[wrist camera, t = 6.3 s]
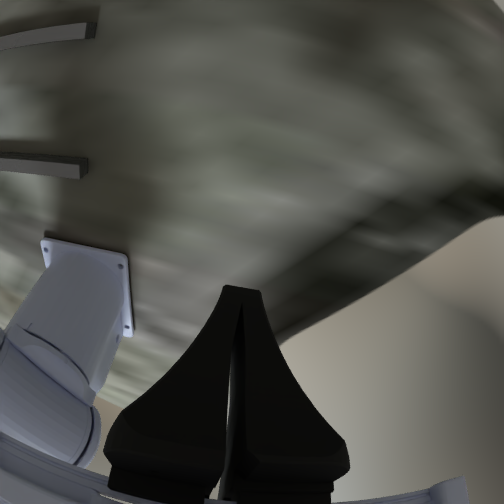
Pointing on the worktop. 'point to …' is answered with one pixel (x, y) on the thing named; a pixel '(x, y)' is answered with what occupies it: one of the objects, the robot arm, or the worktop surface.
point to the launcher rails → (40, 162)
